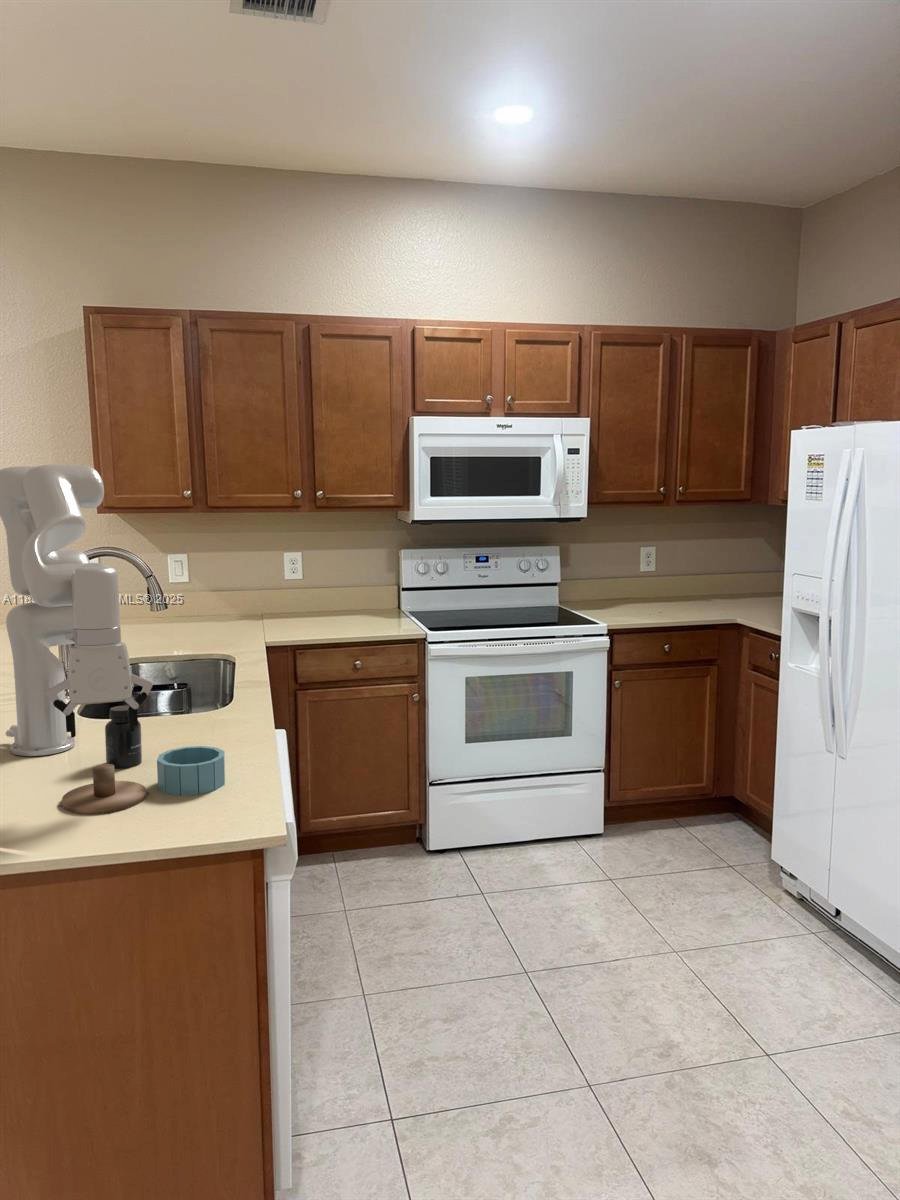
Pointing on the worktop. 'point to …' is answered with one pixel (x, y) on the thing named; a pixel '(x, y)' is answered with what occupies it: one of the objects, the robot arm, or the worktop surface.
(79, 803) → the walnut lid
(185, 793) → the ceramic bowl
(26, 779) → the worktop surface
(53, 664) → the robot arm
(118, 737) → the supplement bottle
